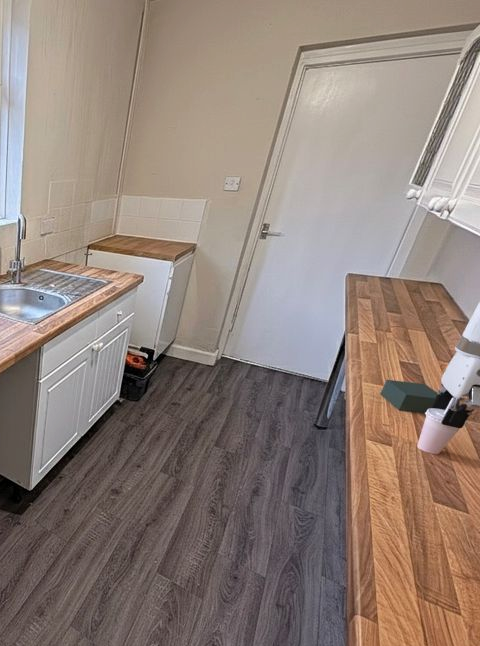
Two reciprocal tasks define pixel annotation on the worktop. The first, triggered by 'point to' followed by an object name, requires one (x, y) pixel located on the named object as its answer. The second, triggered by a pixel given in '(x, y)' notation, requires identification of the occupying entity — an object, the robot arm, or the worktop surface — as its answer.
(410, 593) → the worktop surface
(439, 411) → the smoothie
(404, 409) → the block
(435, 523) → the worktop surface
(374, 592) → the worktop surface
